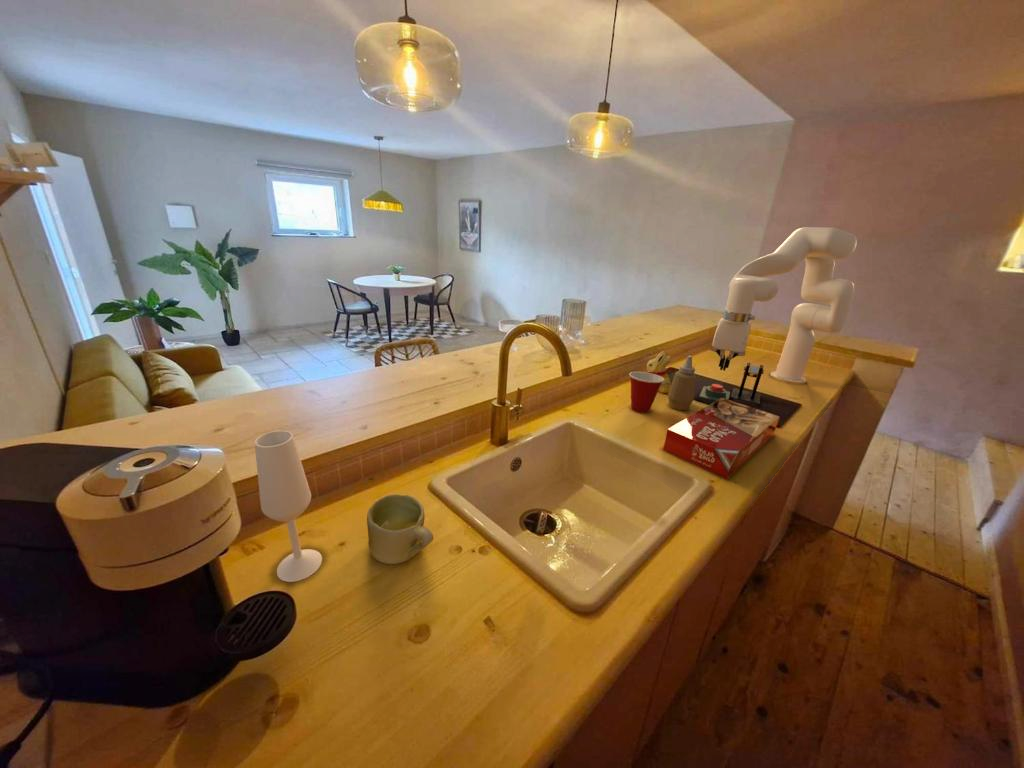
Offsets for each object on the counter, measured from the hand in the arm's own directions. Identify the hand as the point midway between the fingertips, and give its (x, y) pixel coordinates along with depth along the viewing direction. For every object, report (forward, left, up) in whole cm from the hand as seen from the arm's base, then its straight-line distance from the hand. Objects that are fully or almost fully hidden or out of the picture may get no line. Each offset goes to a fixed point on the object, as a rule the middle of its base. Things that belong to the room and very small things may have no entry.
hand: (722, 369), depth 135 cm
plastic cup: (+17, -27, -12) cm, 34 cm away
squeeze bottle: (+11, -14, -12) cm, 22 cm away
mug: (+92, -74, -12) cm, 119 cm away
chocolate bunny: (-3, -20, -12) cm, 24 cm away
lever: (-8, +13, -4) cm, 16 cm away
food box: (+33, -7, -12) cm, 36 cm away
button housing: (0, 0, -12) cm, 12 cm away
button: (0, 0, -8) cm, 8 cm away
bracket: (-5, +12, -12) cm, 17 cm away
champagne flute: (+99, -89, -12) cm, 134 cm away
